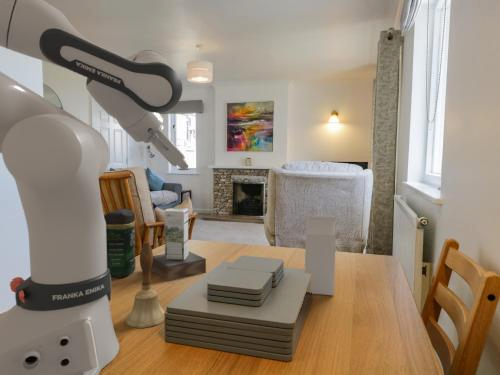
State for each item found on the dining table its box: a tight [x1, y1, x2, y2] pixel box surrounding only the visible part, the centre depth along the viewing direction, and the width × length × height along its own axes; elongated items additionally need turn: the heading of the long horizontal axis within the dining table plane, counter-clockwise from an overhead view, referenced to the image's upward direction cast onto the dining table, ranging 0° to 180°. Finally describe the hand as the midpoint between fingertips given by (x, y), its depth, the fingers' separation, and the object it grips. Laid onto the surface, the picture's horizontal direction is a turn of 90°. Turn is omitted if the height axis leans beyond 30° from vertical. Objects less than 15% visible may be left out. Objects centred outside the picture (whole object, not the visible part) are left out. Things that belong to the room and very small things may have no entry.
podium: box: [150, 250, 207, 282], centre depth 102 cm, size 12×12×4 cm
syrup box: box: [164, 207, 190, 260], centre depth 101 cm, size 6×6×14 cm
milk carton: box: [304, 214, 337, 296], centre depth 88 cm, size 7×7×19 cm
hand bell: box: [125, 241, 166, 329], centre depth 71 cm, size 8×8×16 cm
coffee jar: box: [104, 208, 137, 279], centre depth 99 cm, size 10×8×19 cm
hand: (179, 161), depth 92 cm, fingers open, 8 cm apart
